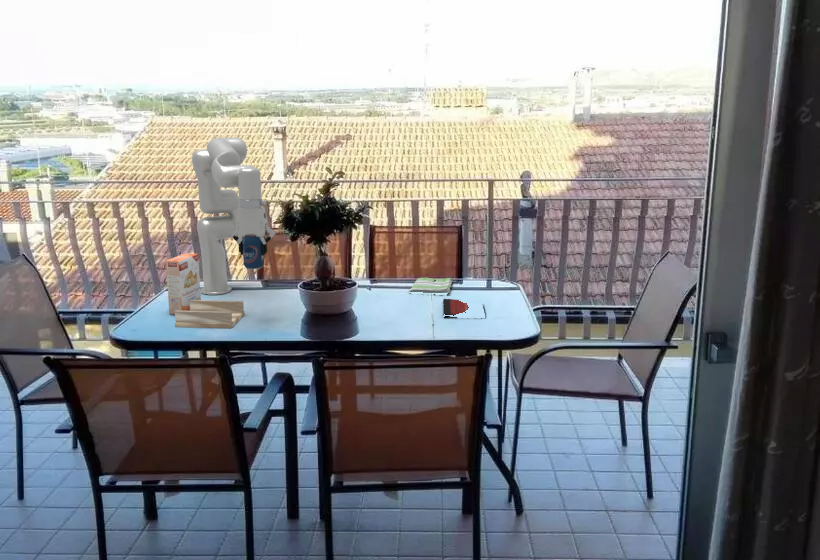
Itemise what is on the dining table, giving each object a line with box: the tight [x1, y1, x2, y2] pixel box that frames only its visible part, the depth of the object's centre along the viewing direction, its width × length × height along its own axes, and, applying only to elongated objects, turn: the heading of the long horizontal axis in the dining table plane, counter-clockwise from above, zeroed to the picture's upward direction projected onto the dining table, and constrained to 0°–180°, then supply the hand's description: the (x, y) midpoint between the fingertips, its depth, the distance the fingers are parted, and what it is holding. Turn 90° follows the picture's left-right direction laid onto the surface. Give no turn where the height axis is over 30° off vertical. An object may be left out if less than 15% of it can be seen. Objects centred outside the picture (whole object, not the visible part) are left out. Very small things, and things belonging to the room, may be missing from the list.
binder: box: [442, 298, 469, 316], centre depth 250 cm, size 16×2×21 cm
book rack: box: [174, 299, 246, 329], centre depth 235 cm, size 16×20×6 cm
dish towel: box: [408, 277, 454, 294], centre depth 281 cm, size 17×23×4 cm
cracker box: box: [165, 252, 202, 316], centre depth 246 cm, size 14×6×21 cm, turn 168°
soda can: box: [242, 235, 265, 270], centre depth 228 cm, size 7×7×12 cm
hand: (253, 254), depth 228 cm, fingers closed on soda can, 7 cm apart
